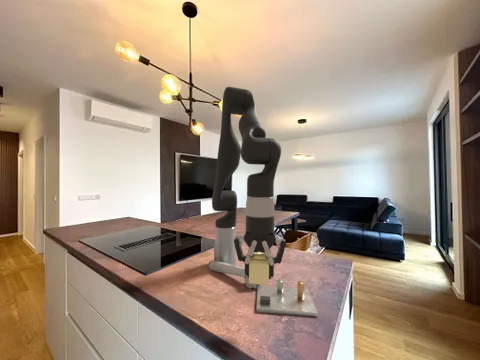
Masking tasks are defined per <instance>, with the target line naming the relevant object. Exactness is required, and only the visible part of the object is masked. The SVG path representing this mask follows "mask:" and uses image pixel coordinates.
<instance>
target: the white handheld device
mask: <svg viewBox="0 0 480 360" xmlns="http://www.w3.org/2000/svg"><path fill="white" fill-rule="evenodd" d="M207 266H208V269H209V270H211V271H214V272H215V273H223V274H227V275H232V276H237V277H241V278H243V280H244V282H245V287H247V288H248V289H252V288H253V289H256V290H257V289H258V286H261V284H250V283H249V278H247V275H245V267H242V266H238V265H231V264H227V263H224V262H220V261H219V260H217V261H215V260H214V259H213V260H210V261H208V265H207Z"/></svg>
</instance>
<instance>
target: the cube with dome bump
mask: <svg viewBox="0 0 480 360" xmlns="http://www.w3.org/2000/svg"><path fill="white" fill-rule="evenodd" d="M269 281H270V279H269V259H268V258H267V256H266V253H261V252H257V253H256V252H253V254H252V257H251V258H250V259H249V283H250V284H260V285H263V286H269V285H270V283H269Z"/></svg>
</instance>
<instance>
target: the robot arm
mask: <svg viewBox="0 0 480 360" xmlns="http://www.w3.org/2000/svg"><path fill="white" fill-rule="evenodd" d="M221 107H222V108H221V124H220V136H219V144H218V151H217V159H216V170H215V171H216V172H215V179H214V185H213V191H212V197H211V207H212V210H213V211H215V212H226V213H225V214H224V215H222V216H221V217H219V218H217V219H216V220H215V225H214V227H215V228H214V230H215V231H214V234H215V236H214V237H215V241H214V242H215V243H214V244H213V260H215V261H217V260H219V261H220V262H224V263H227V264H231V265H235V266H237V265H236V264H237V263H236V261H237V260H238V262H242V263H244V268H245V275H247V278H249V259H250V258H251V257H252V254H253V253H255V252H256V253H257V252H261V253H265V254H266V256H267V258H268V259H269V280H272V278H274V275H275V265H276V264H281V263H282V260H283V256H284V253H285V249H286V246H287V242H286V239H284V238H278V237H276V235H275V200H274V199H275V198H274V195H275V194H274V192H275V189H274V188H275V187H274V186H275V177H276V174H277V170H278V166H279V163H280V158H281V156H282V147H281V143H280V141H278V140H277V139H276V138H271V137H267V132H266V129H265V127H264V126H263V124H262V122H261V120H260V118H259V114H258V110H257V104H256V100H255V96H254V94H253V92H252V91H250V90H249V89H244V88H239V87H232V86H226V87H225V89H224V91H223V96H222V106H221ZM232 115H236V116H241V117H240V118H239V121H238V130H239V133H240V136H241V144H240V142H239V140H238V138H237V136H236V134H235V132H234V129H233V125H232V124H233V123H232V119H231V117H232ZM240 159H241V160H242V161H243V162H244V163H245V164H247V165H260V166H261V165H262V166H263V165H264V167H263V169H262V171H261V172H256V173H252V174H249V175H248V176H247V180H246V203H245V233H244V235H243V236H238V235H237V211H238V210H237V209H238V196H237V192H236V191H235V190H228V189H227V190H226V189H225V190H224V187H225V185H226V183H227V182H228V180H229V179H230V178H231V177H232V175H233V174H234V173H235V172H236V171H237V170H238V167H239V165H240V162H241V160H240ZM244 242H245V244H246V245H247V246H248V250H247V253H246V255H244V253H243V248H242V246H243V244H244ZM275 243H276V247H277V248H278V249H277V252H276V256H273V253H272V249H271V248H272V247H273V246H274V244H275ZM236 258H237V259H236Z"/></svg>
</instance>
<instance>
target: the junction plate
mask: <svg viewBox="0 0 480 360" xmlns="http://www.w3.org/2000/svg"><path fill="white" fill-rule="evenodd" d="M276 282H277V283H276V286H272V285H270V286H269V285H260V286H258V288H257V293H256V296H257V297H256V313H266V314H276V315H277V314H278V315H279V314H280V315H292V316H306V317H316V318H317V317H319V314H318V310H317V308H316V305H315V303H314V300H313V297H312V295H311V293H310V291H309V288H305V282H304V281H300V280H299V281H296V282H297V284H296V285H297V287H288V286H284V280H283V279H277V281H276Z"/></svg>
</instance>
